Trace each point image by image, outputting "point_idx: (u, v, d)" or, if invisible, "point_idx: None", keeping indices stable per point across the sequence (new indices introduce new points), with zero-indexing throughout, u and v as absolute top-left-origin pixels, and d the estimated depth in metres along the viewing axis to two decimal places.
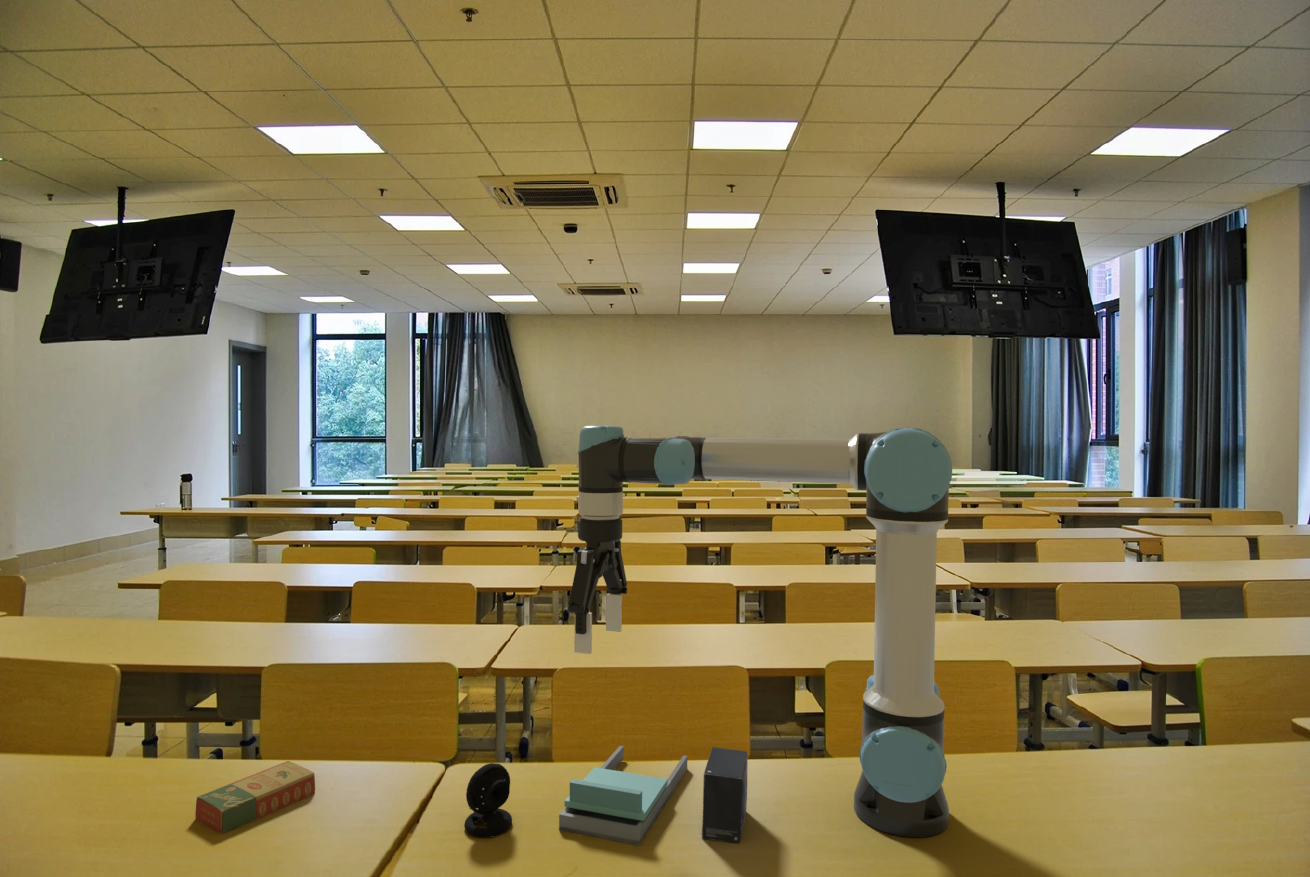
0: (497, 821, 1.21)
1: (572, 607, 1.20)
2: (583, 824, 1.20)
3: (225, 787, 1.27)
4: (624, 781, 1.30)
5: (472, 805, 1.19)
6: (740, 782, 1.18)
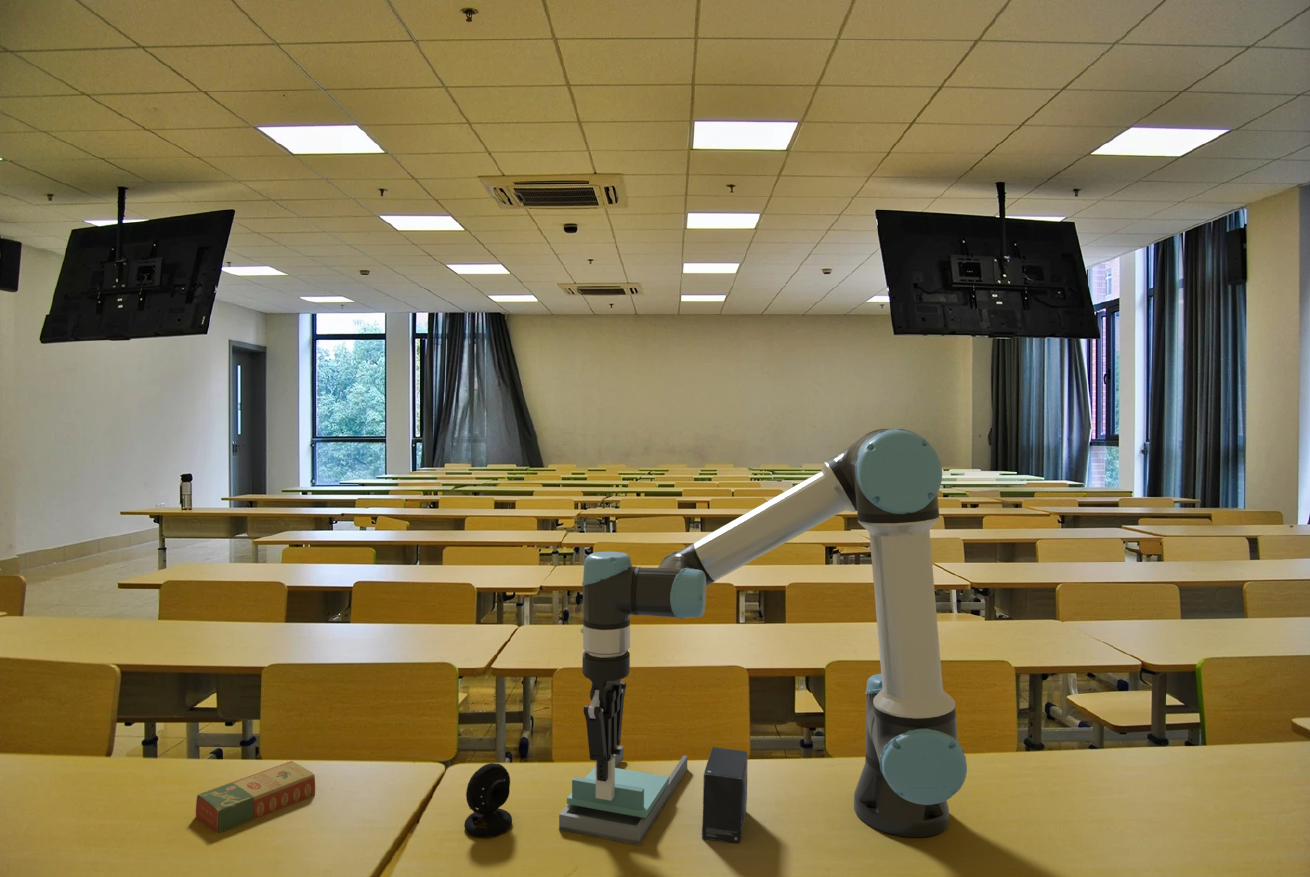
0: (497, 821, 1.21)
1: (594, 758, 1.18)
2: (583, 824, 1.20)
3: (226, 786, 1.27)
4: (626, 779, 1.31)
5: (472, 805, 1.19)
6: (740, 782, 1.18)
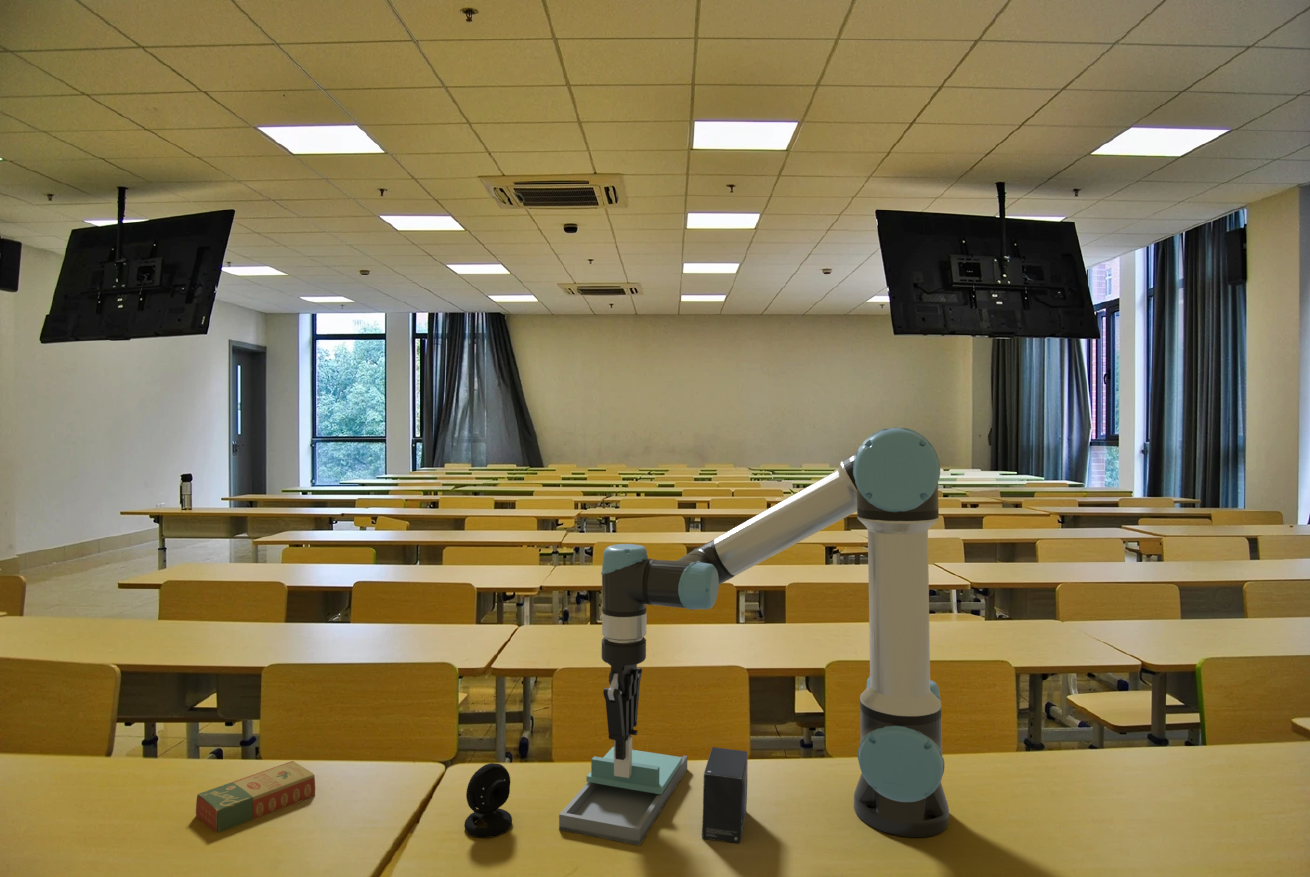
0: (497, 821, 1.21)
1: (613, 738, 1.26)
2: (583, 824, 1.20)
3: (226, 786, 1.28)
4: (641, 759, 1.39)
5: (472, 805, 1.19)
6: (740, 782, 1.18)
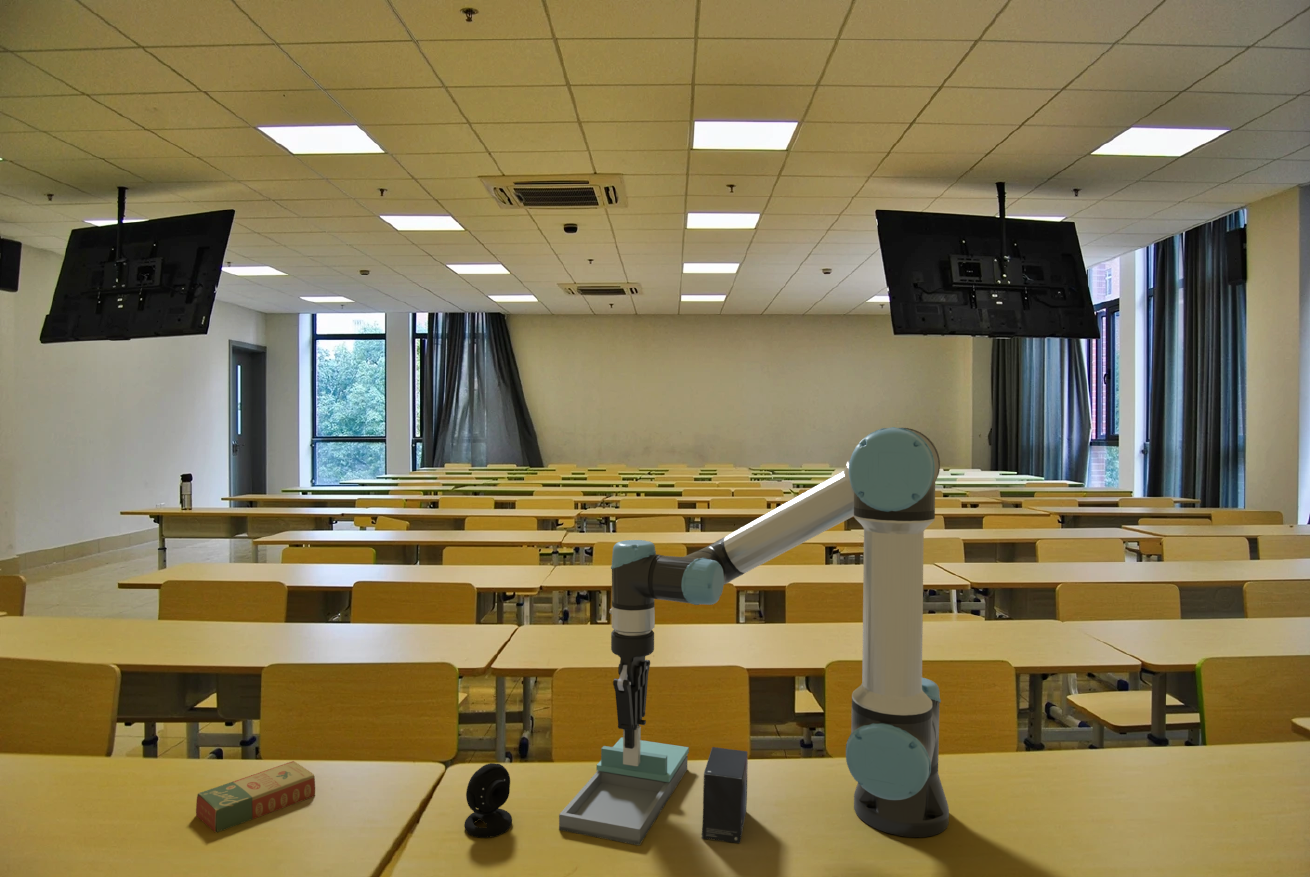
0: (497, 821, 1.21)
1: (622, 727, 1.30)
2: (583, 824, 1.20)
3: (226, 785, 1.28)
4: (649, 749, 1.43)
5: (472, 805, 1.19)
6: (740, 782, 1.18)
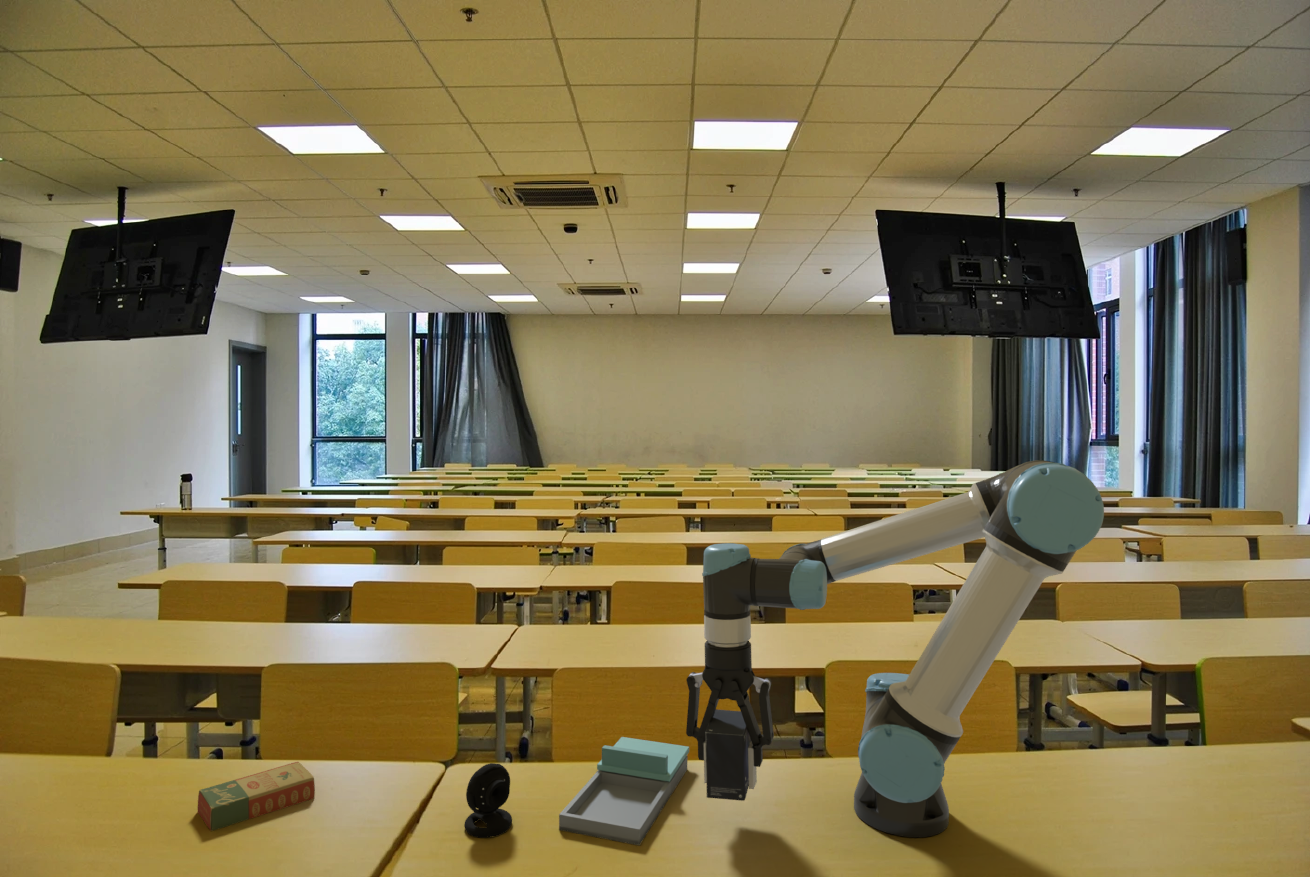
0: (497, 821, 1.21)
1: None
2: (583, 824, 1.20)
3: (228, 783, 1.28)
4: (650, 748, 1.43)
5: (472, 805, 1.19)
6: (741, 739, 1.18)
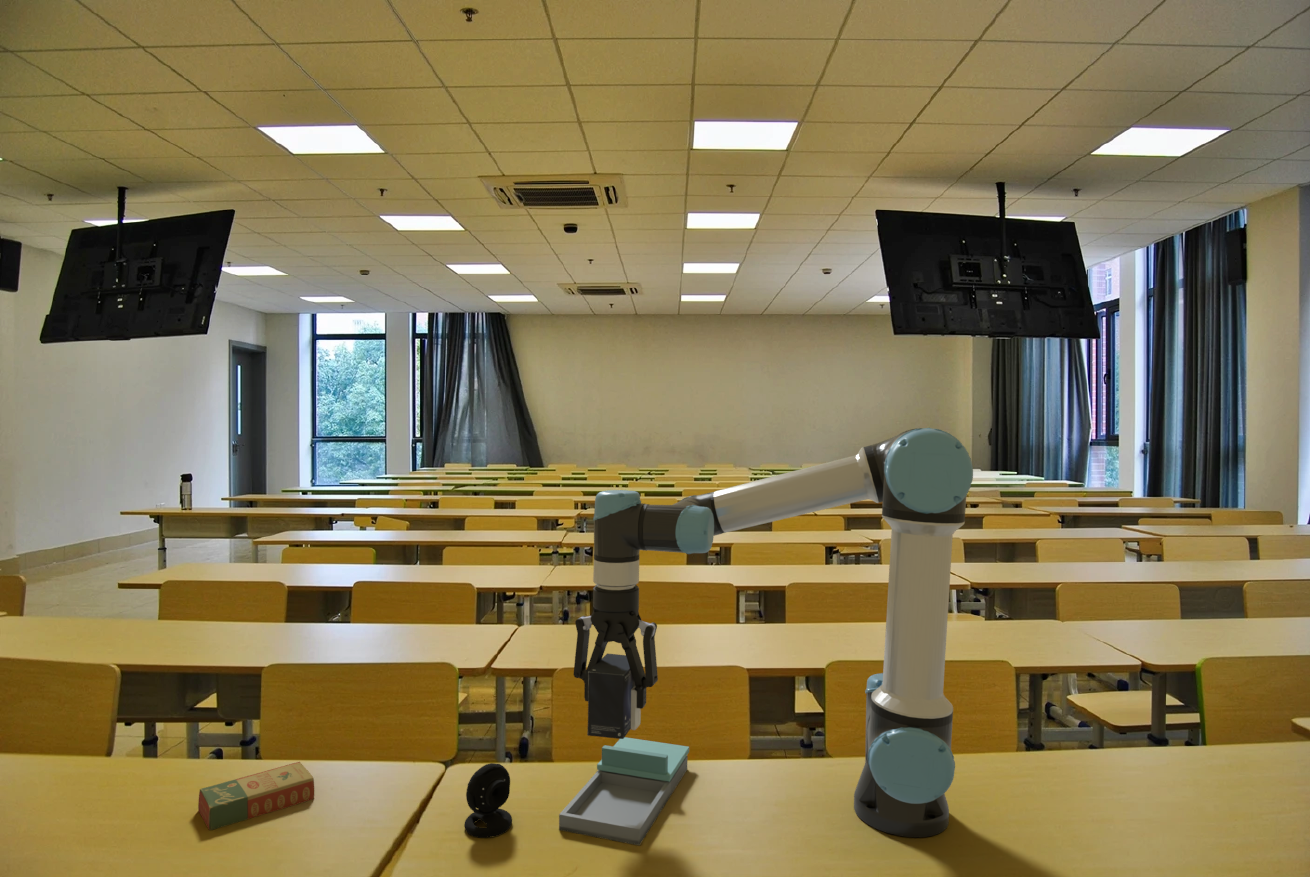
0: (497, 821, 1.21)
1: None
2: (583, 824, 1.20)
3: (228, 782, 1.29)
4: (650, 748, 1.43)
5: (472, 805, 1.19)
6: (622, 678, 1.20)
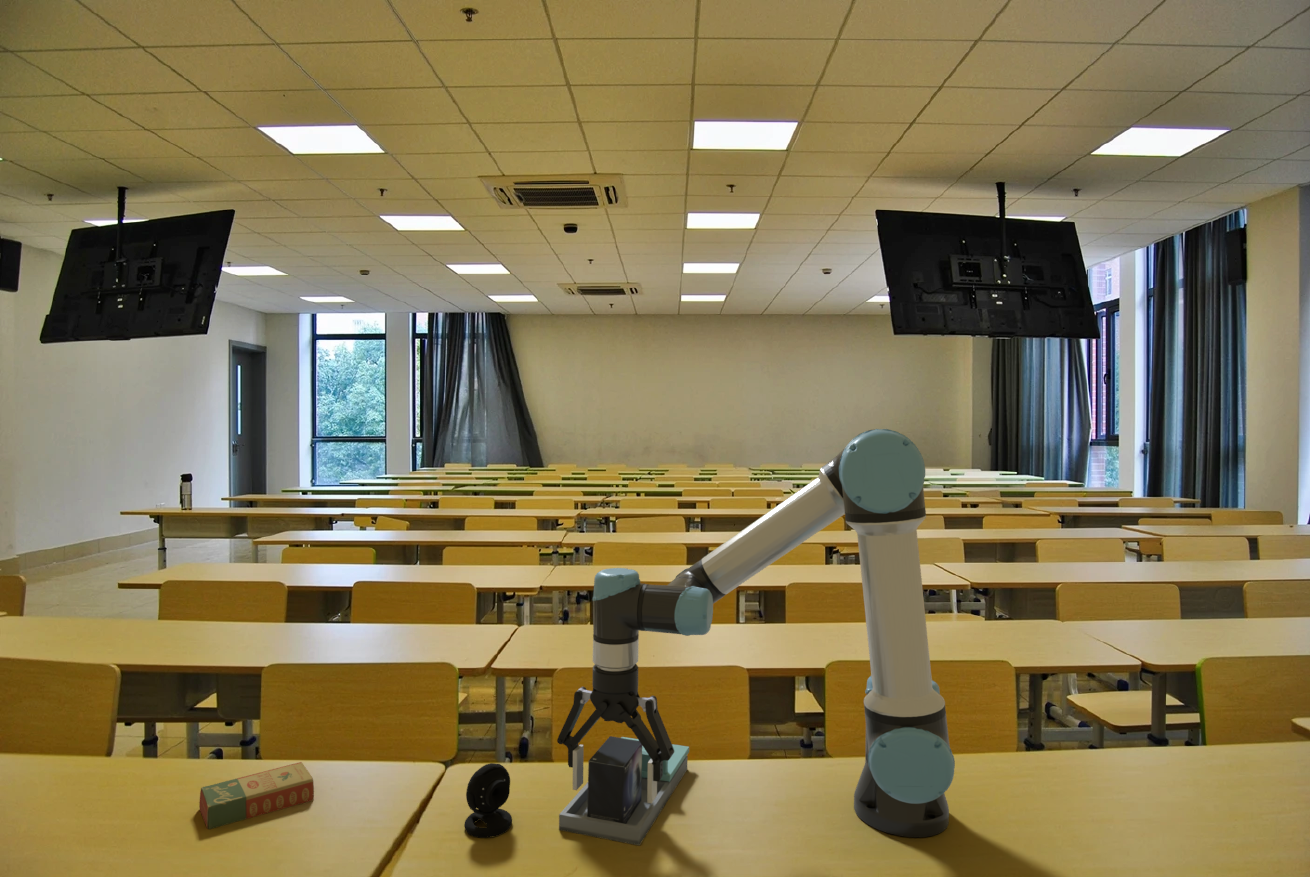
0: (497, 821, 1.21)
1: None
2: (583, 824, 1.20)
3: (229, 782, 1.29)
4: None
5: (472, 805, 1.19)
6: (622, 770, 1.20)
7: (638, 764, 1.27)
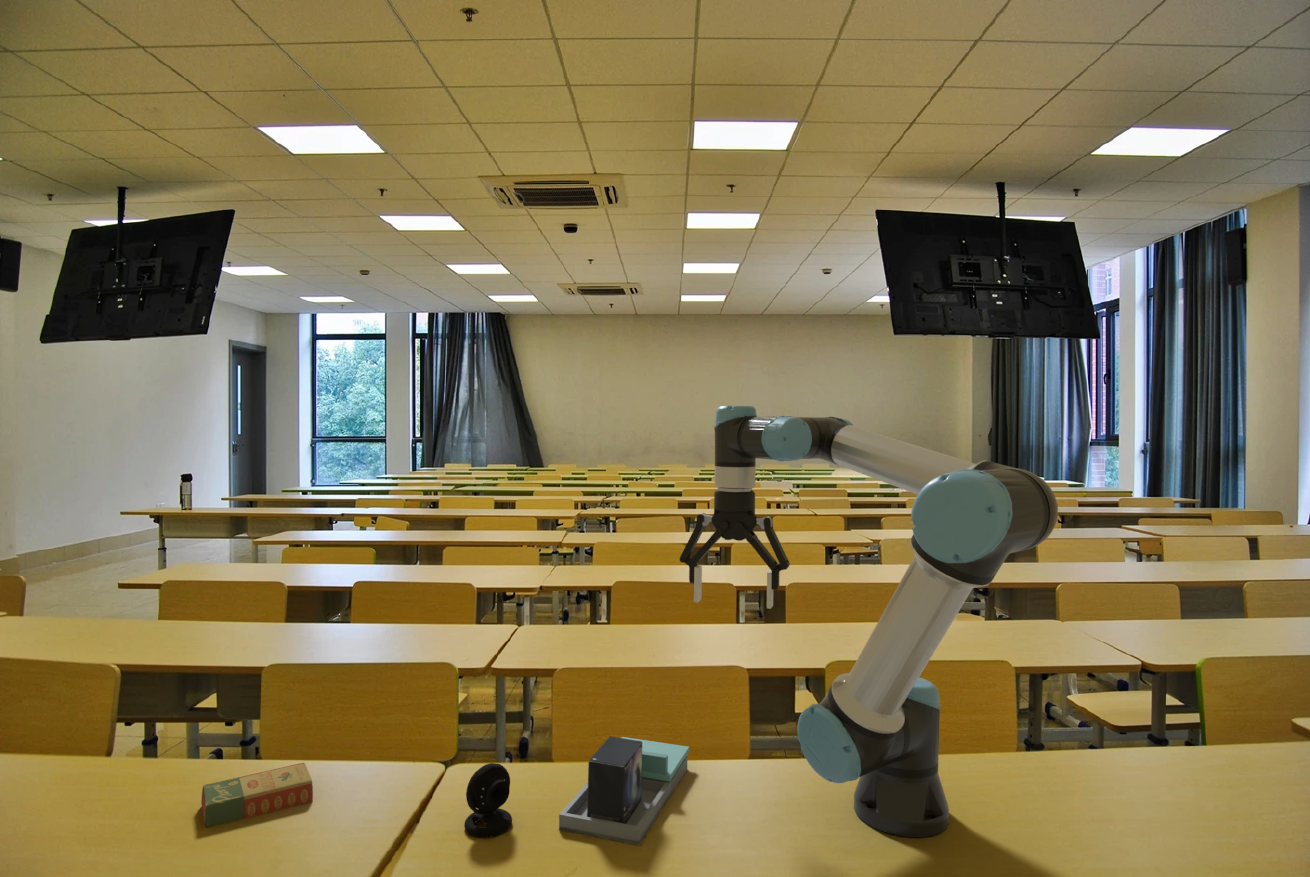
0: (497, 821, 1.21)
1: None
2: (583, 824, 1.20)
3: (231, 780, 1.29)
4: (650, 748, 1.43)
5: (472, 805, 1.19)
6: (622, 770, 1.20)
7: (638, 764, 1.27)
